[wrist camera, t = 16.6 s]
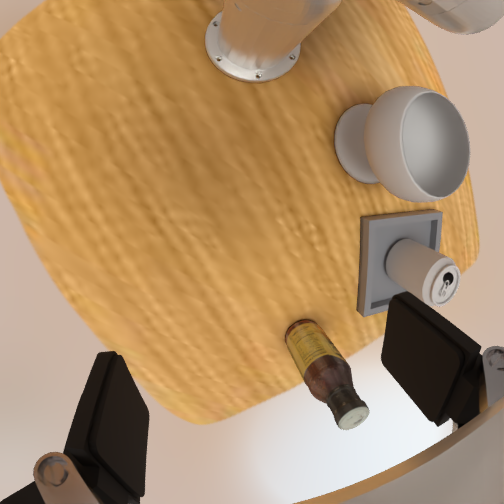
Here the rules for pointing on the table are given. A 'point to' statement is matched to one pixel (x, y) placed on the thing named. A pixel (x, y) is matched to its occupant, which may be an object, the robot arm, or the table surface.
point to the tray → (379, 245)
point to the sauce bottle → (326, 373)
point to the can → (423, 272)
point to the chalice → (405, 144)
